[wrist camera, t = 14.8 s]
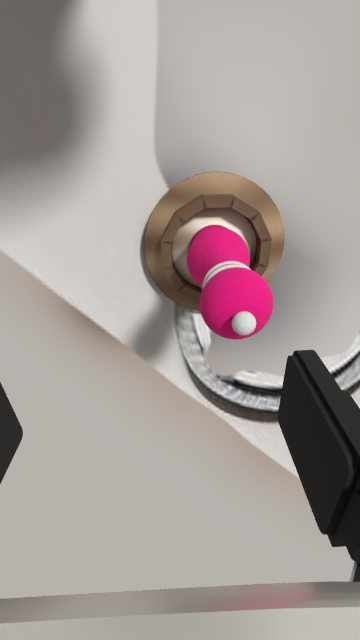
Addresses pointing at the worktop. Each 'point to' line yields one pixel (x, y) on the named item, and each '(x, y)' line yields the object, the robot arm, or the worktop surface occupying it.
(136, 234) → the worktop surface
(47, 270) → the worktop surface
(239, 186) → the round tray
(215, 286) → the pepper mill
